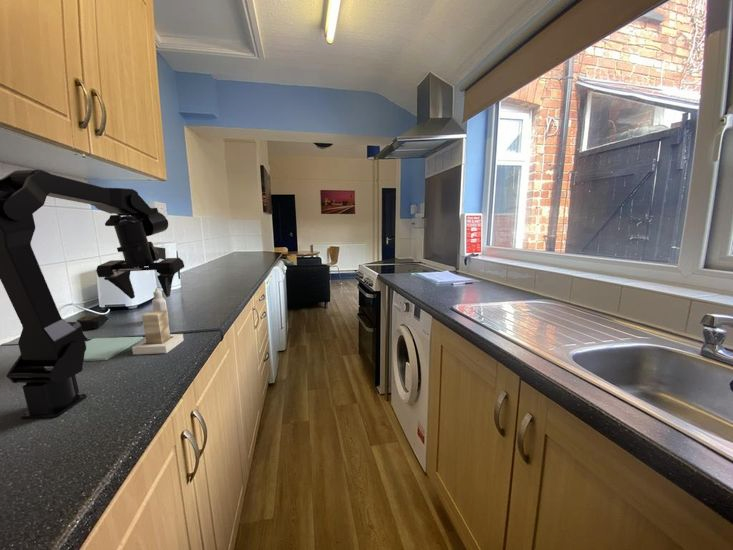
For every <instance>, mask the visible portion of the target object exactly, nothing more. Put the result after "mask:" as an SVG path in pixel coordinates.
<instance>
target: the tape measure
mask: <svg viewBox="0 0 733 550" xmlns="http://www.w3.org/2000/svg"><path fill="white" fill-rule="evenodd" d="M108 320H109V317H108V316H107V315H106V314H99V315H97V314H92V315H85V316H83V317H80V318H78V319H77V320H76V322H79V323H80V324H81V326H82V331H84V330H85V331H86V330H87V331H88V330H91V329H96V328H99V327H101V326H102V325H103V324H106V322H107V321H108Z"/></svg>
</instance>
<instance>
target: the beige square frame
mask: <svg viewBox="0 0 733 550" xmlns="http://www.w3.org/2000/svg"><path fill="white" fill-rule="evenodd" d="M170 338H171V339H170V340H168V341H167V342H165V343H164V344H150V345H147V343H146V338H145V339H144V340H141V341H139V342H138V343H137V344H134V346H132V347H131V349H132V355H133V356H134V355H153V354H156V355H157V354H167V353H169V352H170V351H172V350H174V348H175V347H177V346H178V345H179V344H181V343H183V342H184V341H185V340H184V333H175V334H174V333H173V334H172V333H170Z"/></svg>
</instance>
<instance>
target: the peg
mask: <svg viewBox="0 0 733 550" xmlns="http://www.w3.org/2000/svg"><path fill="white" fill-rule="evenodd" d="M167 313H168V309H167V310H162V311H153V310H151V311H148V312H146V313H144V314H142V315H141V317H142V324H143V331H144V336H145V339H146V343H147V345H150V344H164V343H165V342H167V341H168V340H170V339H171V338H170V334H171V331H170V327H169V321H168V320H169V316H168V317H167Z"/></svg>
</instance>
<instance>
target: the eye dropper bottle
mask: <svg viewBox="0 0 733 550" xmlns="http://www.w3.org/2000/svg"><path fill="white" fill-rule="evenodd" d="M162 291H163V290H160V288H159V287H155V291H154V292H153V299H152V300H151V305H152V311H162V310H167V311H168V306H167V301H166V299H165V297H163V292H162ZM167 317H168V318H169V313H168V312H167ZM168 322H169V319H168Z"/></svg>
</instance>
